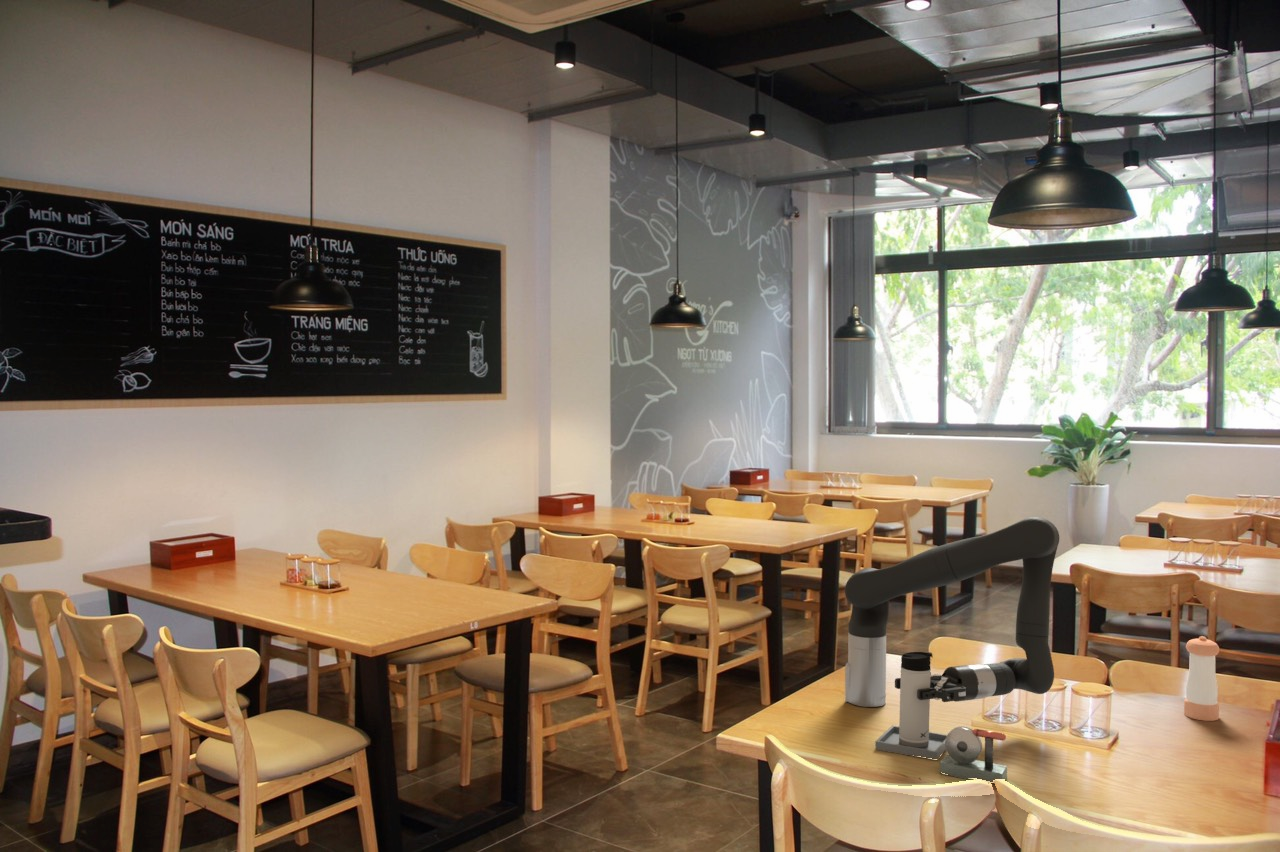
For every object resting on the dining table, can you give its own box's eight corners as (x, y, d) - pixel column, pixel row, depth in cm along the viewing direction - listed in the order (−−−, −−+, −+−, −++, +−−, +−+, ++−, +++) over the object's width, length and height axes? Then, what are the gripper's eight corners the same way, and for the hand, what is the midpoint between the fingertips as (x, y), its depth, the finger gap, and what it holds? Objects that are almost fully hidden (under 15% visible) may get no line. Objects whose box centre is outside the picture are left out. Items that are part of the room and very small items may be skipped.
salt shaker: (1186, 718, 236) (1187, 638, 236) (1182, 709, 243) (1183, 631, 243) (1221, 722, 234) (1222, 641, 233) (1216, 713, 240) (1217, 634, 240)
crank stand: (939, 773, 202) (940, 727, 201) (946, 766, 206) (946, 720, 206) (1002, 786, 195) (1003, 737, 195) (1008, 777, 200) (1008, 730, 199)
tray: (875, 749, 216) (875, 741, 216) (892, 733, 226) (892, 725, 226) (936, 761, 209) (937, 752, 209) (951, 743, 219) (951, 735, 219)
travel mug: (931, 749, 214) (933, 657, 213) (899, 747, 215) (902, 655, 215) (929, 740, 220) (931, 650, 219) (898, 737, 221) (900, 648, 221)
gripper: (949, 657, 228) (888, 663, 223) (990, 674, 215) (926, 680, 210) (949, 690, 229) (888, 697, 223) (990, 708, 215) (925, 716, 210)
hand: (906, 689), depth 216 cm, fingers open, 8 cm apart
